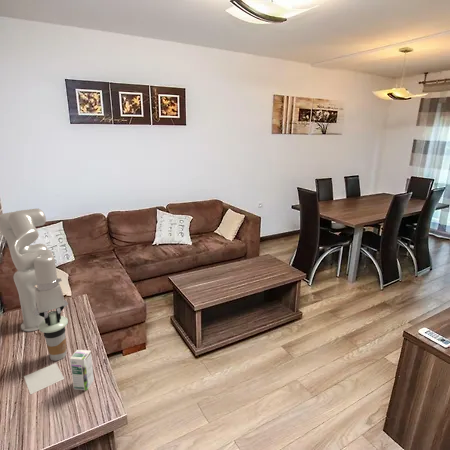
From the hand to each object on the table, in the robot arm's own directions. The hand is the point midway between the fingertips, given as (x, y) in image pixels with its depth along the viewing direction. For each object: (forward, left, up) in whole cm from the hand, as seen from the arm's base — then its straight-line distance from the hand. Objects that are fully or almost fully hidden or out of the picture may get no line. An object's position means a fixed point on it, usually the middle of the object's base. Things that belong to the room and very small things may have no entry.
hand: (53, 322), depth 131 cm
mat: (+10, -8, -18) cm, 22 cm away
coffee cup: (0, 0, -18) cm, 18 cm away
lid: (0, 0, -1) cm, 1 cm away
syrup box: (+24, +3, -18) cm, 30 cm away
